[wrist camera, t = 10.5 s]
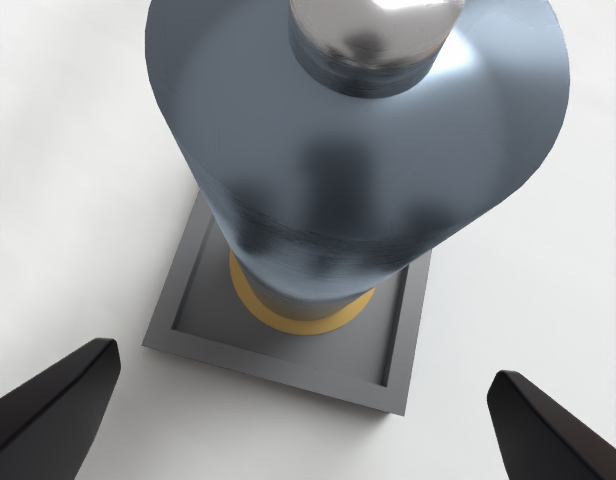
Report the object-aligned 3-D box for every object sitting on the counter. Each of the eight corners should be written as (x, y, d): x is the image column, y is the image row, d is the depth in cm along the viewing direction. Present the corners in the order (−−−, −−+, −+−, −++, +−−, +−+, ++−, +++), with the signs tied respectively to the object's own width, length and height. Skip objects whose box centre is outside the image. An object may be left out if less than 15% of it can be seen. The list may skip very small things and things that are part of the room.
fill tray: (392, 410, 17) (404, 416, 15) (154, 345, 17) (141, 345, 15) (431, 190, 20) (444, 177, 18) (230, 136, 20) (226, 119, 18)
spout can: (370, 318, 17) (1082, 65, 2) (244, 324, 16) (-147, 61, 1) (359, 201, 18) (699, -449, 3) (243, 204, 18) (51, -524, 3)
